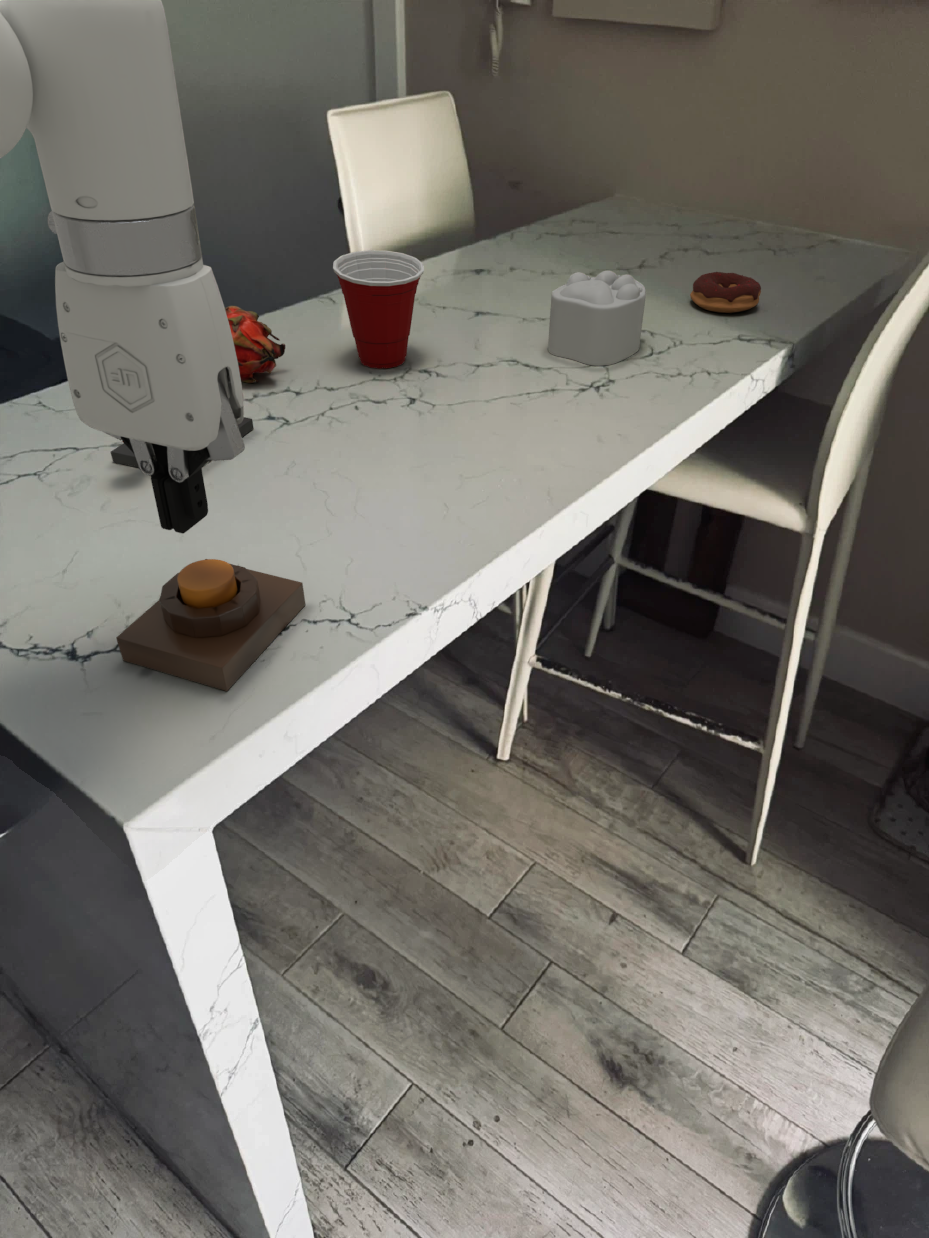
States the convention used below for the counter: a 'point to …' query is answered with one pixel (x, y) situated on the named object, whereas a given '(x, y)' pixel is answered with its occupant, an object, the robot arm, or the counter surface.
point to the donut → (725, 292)
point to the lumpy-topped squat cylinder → (596, 318)
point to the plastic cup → (379, 302)
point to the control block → (212, 629)
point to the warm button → (207, 583)
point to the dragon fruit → (252, 343)
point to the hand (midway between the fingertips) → (185, 521)
